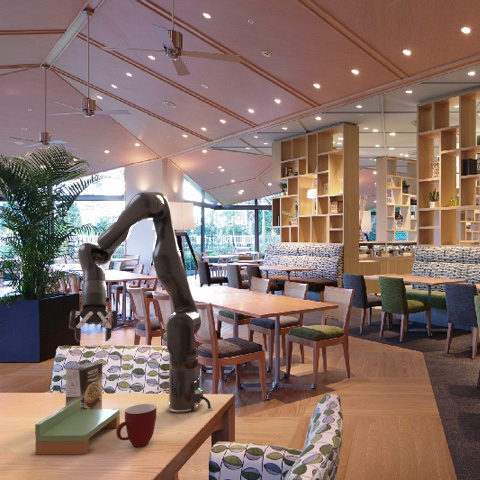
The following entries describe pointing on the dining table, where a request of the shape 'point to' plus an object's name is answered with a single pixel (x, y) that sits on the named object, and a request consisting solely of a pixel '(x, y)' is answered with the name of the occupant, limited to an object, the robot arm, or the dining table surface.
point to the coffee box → (85, 385)
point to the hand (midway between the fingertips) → (93, 340)
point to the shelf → (72, 429)
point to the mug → (138, 424)
